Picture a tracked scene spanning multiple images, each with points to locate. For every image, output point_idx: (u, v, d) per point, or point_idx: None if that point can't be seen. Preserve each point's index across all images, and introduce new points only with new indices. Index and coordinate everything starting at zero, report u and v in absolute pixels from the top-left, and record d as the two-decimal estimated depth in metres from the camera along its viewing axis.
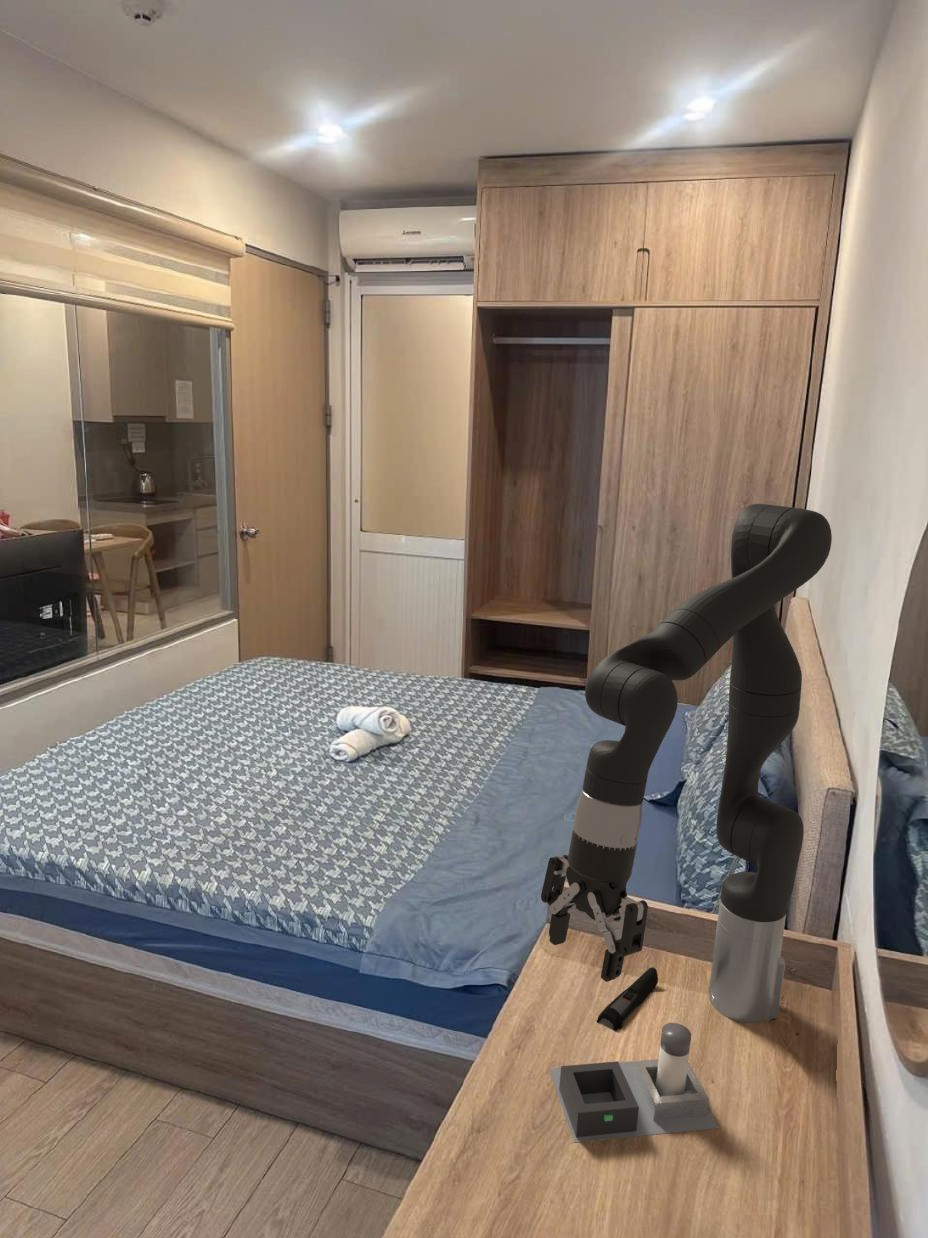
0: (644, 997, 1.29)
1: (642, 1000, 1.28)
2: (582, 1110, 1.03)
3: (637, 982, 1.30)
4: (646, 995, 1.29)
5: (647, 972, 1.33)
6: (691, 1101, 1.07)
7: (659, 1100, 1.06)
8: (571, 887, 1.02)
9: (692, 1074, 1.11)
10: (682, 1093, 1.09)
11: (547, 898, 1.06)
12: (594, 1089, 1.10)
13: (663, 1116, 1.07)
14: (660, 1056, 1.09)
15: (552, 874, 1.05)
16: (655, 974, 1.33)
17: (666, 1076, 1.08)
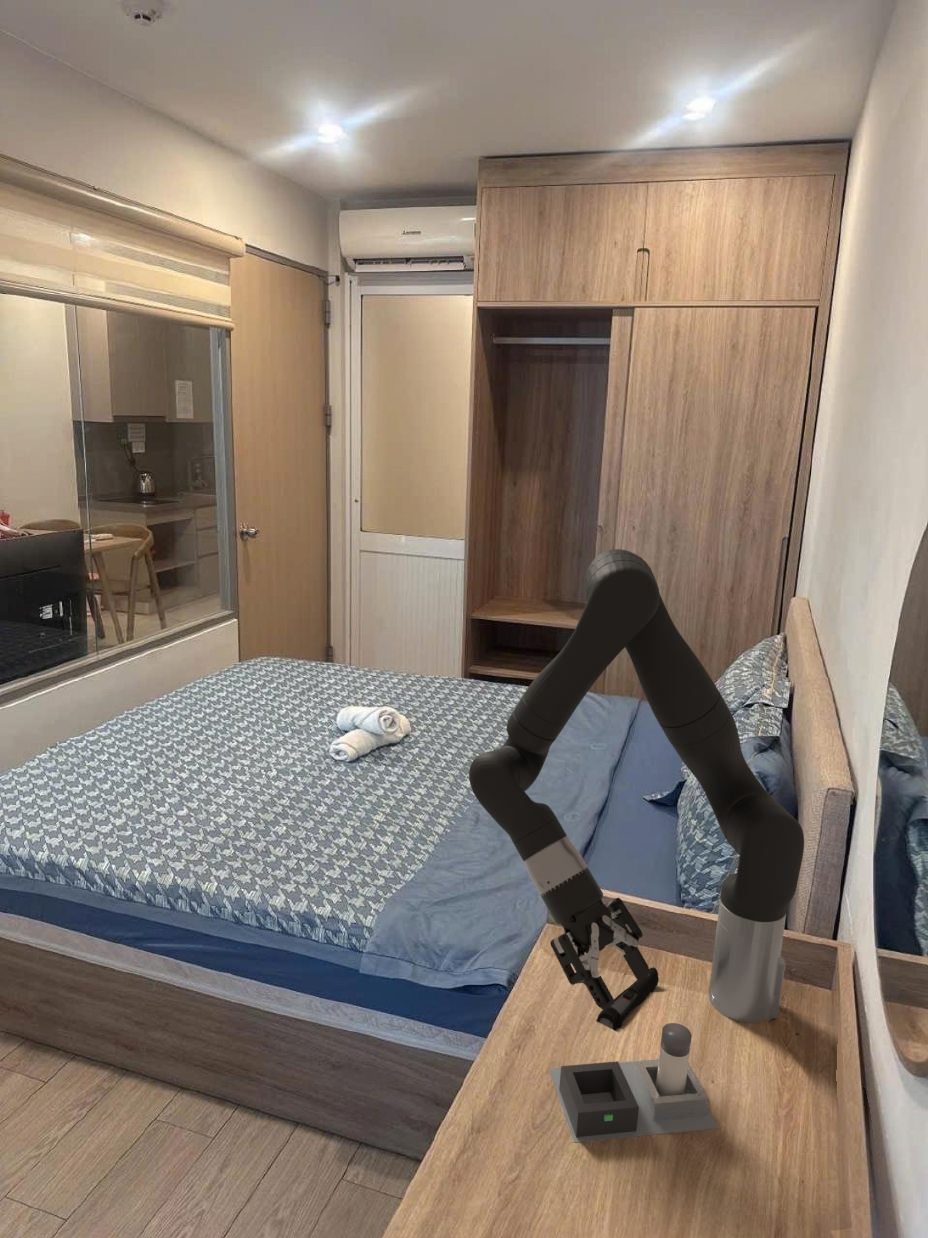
0: (644, 996, 1.29)
1: (642, 1000, 1.28)
2: (582, 1110, 1.03)
3: (637, 982, 1.30)
4: (646, 995, 1.30)
5: None
6: (691, 1101, 1.07)
7: (659, 1100, 1.06)
8: None
9: (692, 1074, 1.11)
10: (682, 1093, 1.09)
11: None
12: (594, 1089, 1.10)
13: (663, 1116, 1.07)
14: (660, 1056, 1.09)
15: (611, 918, 1.20)
16: (656, 974, 1.33)
17: (666, 1076, 1.08)
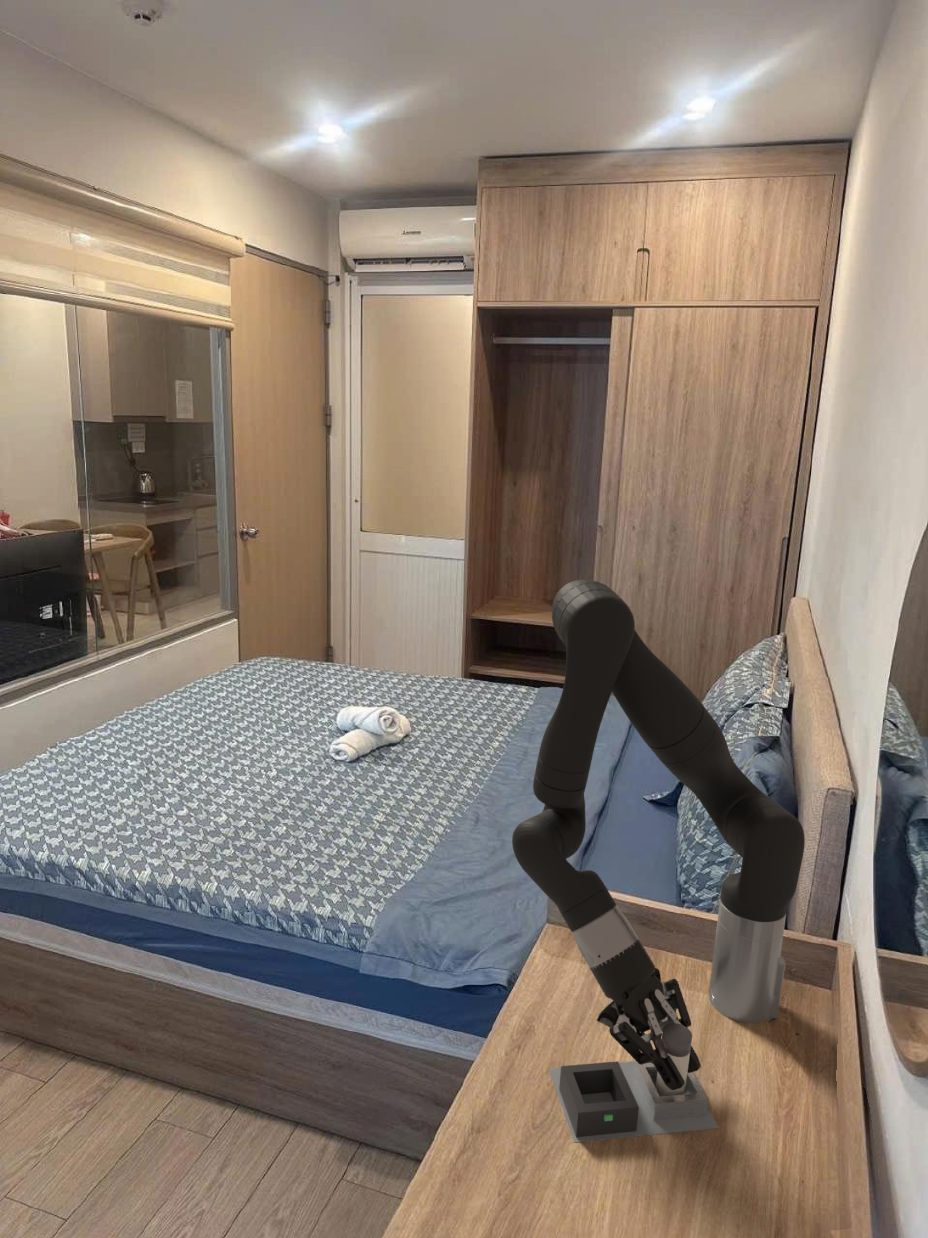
0: None
1: None
2: (582, 1110, 1.03)
3: None
4: None
5: None
6: (691, 1101, 1.07)
7: (659, 1100, 1.06)
8: None
9: (692, 1074, 1.11)
10: (682, 1093, 1.09)
11: None
12: (594, 1089, 1.10)
13: (663, 1116, 1.07)
14: None
15: None
16: (658, 975, 1.33)
17: None
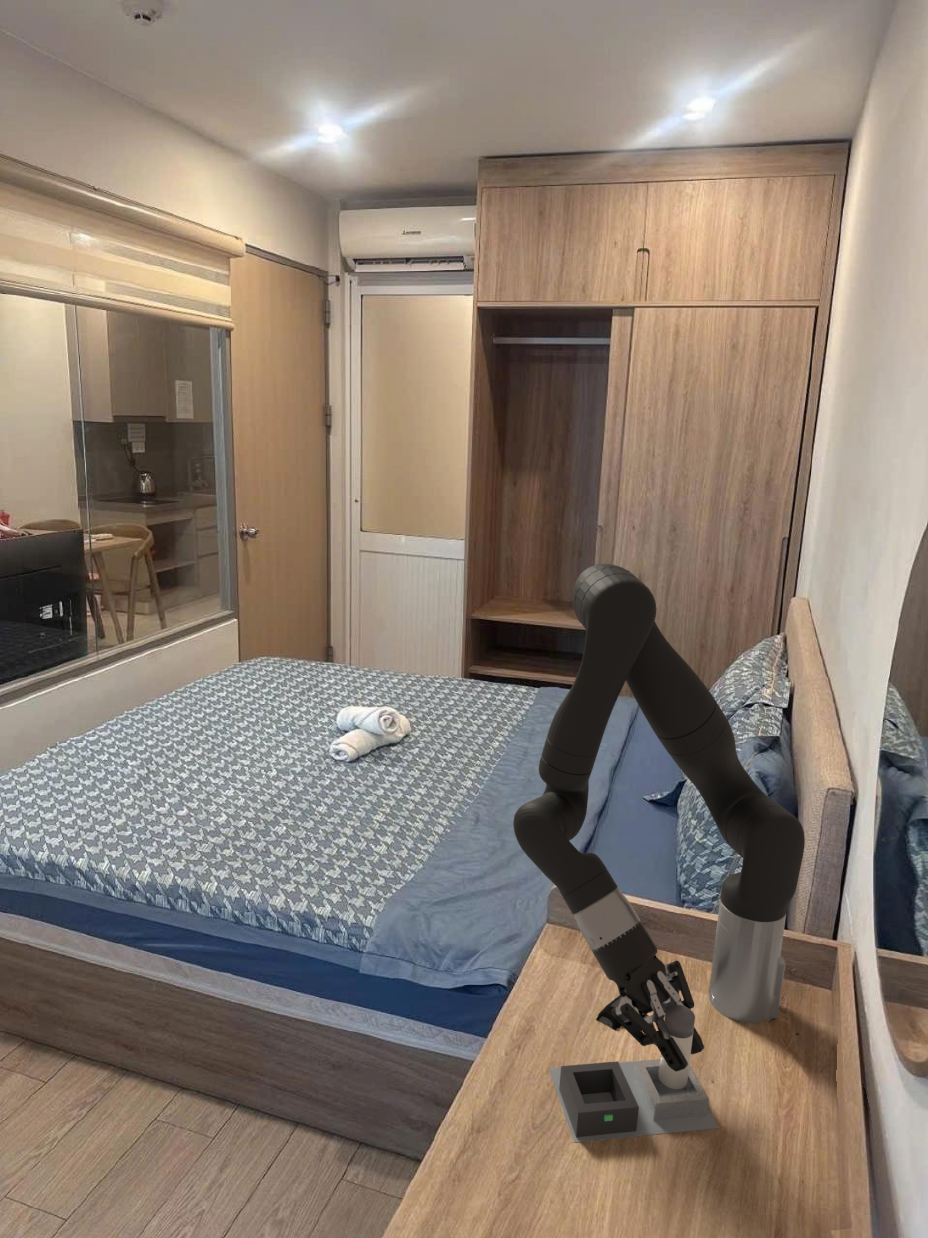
0: None
1: None
2: (582, 1110, 1.03)
3: None
4: None
5: None
6: (691, 1101, 1.07)
7: (659, 1100, 1.06)
8: None
9: (692, 1074, 1.11)
10: (686, 1075, 1.08)
11: None
12: (594, 1089, 1.10)
13: (663, 1116, 1.07)
14: None
15: None
16: None
17: None
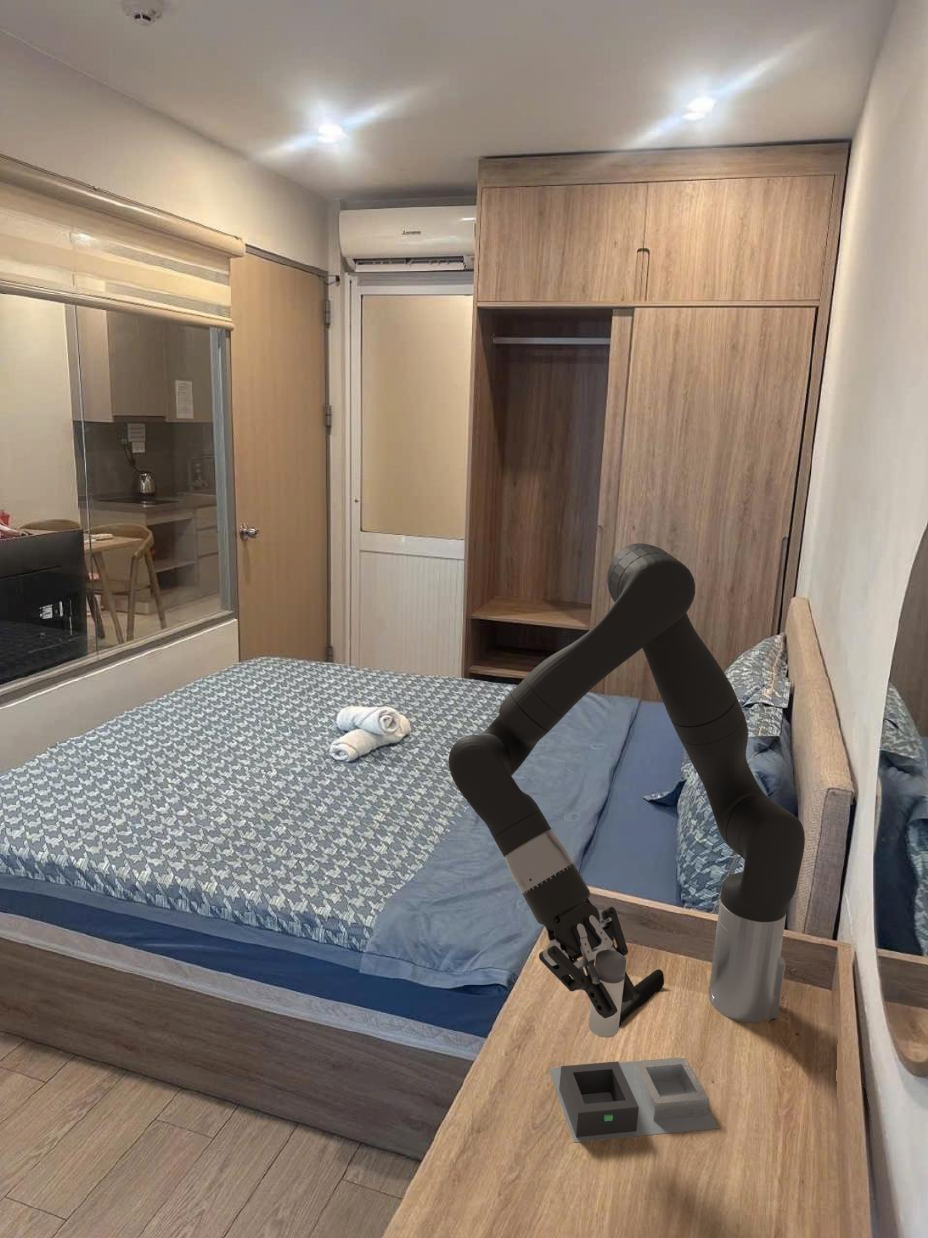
0: (647, 998, 1.29)
1: (645, 1001, 1.28)
2: (582, 1110, 1.03)
3: (641, 983, 1.30)
4: (650, 996, 1.29)
5: (653, 974, 1.33)
6: (691, 1101, 1.07)
7: (659, 1100, 1.06)
8: None
9: (692, 1074, 1.11)
10: (616, 1023, 1.03)
11: None
12: (594, 1089, 1.10)
13: (663, 1116, 1.07)
14: None
15: None
16: (661, 976, 1.33)
17: None
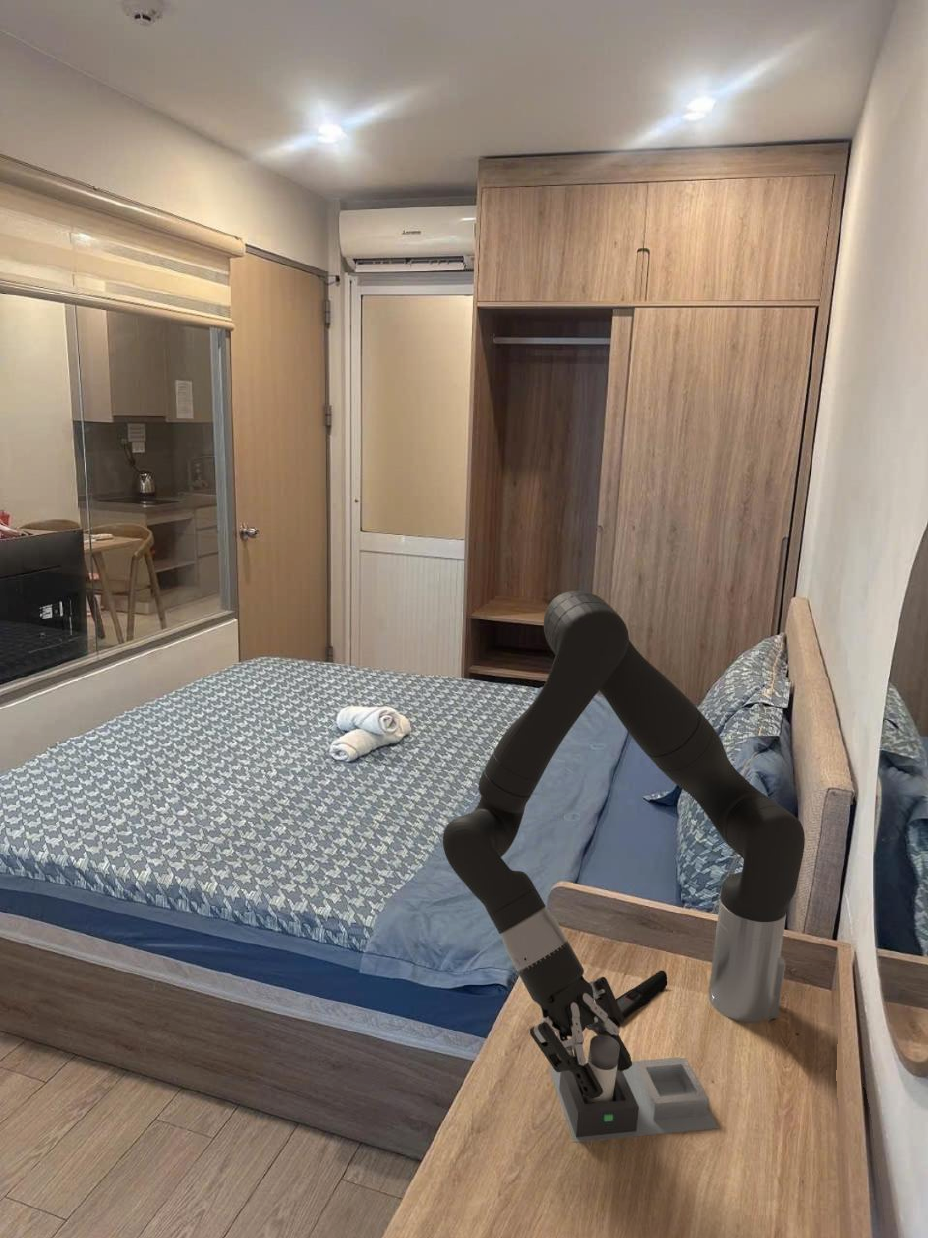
0: (649, 998, 1.29)
1: (646, 1001, 1.28)
2: (582, 1110, 1.03)
3: (643, 983, 1.30)
4: (651, 997, 1.29)
5: (656, 975, 1.32)
6: (691, 1101, 1.07)
7: (659, 1100, 1.06)
8: None
9: (692, 1074, 1.11)
10: None
11: None
12: None
13: (663, 1116, 1.07)
14: None
15: None
16: (664, 977, 1.32)
17: None
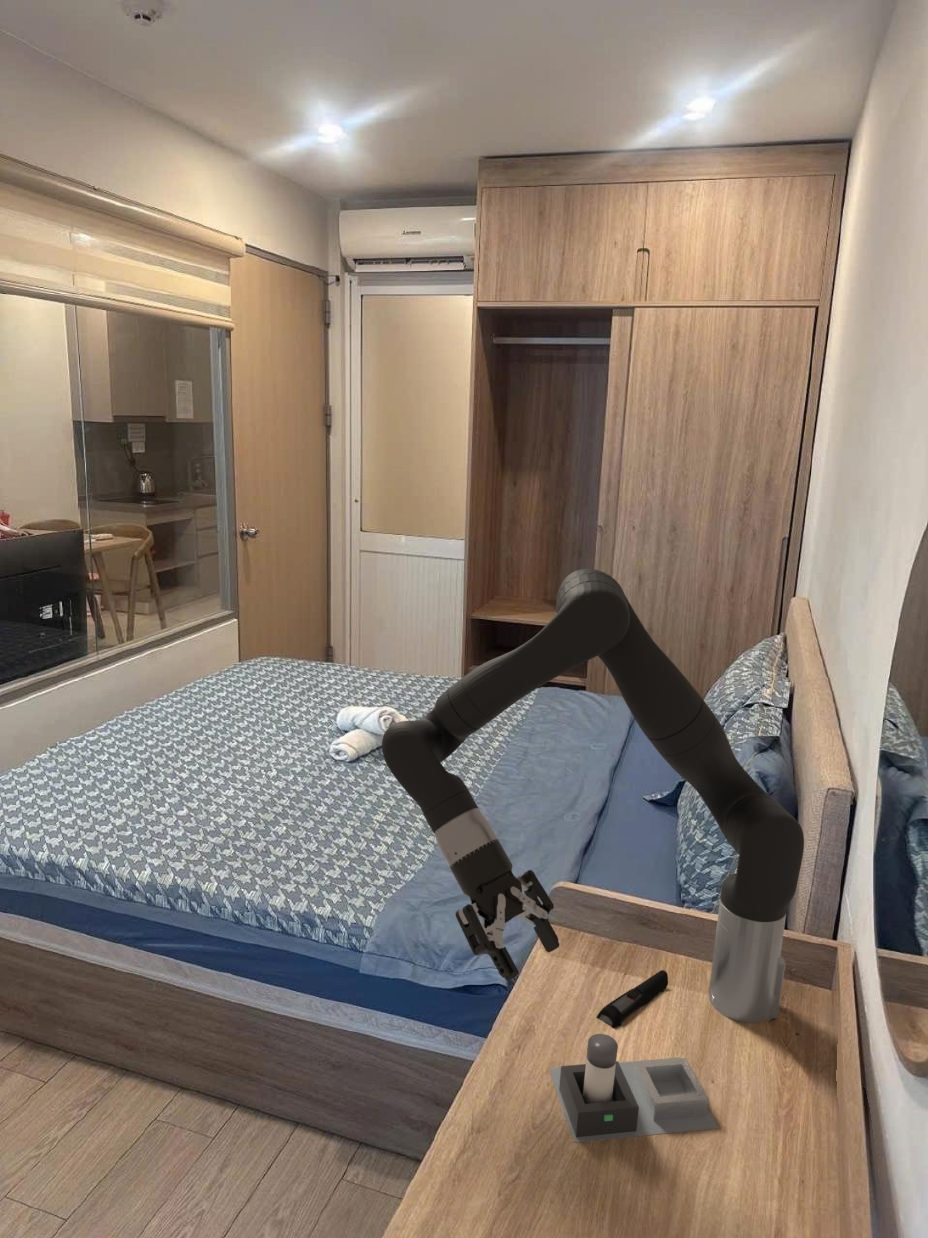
0: (650, 998, 1.29)
1: (647, 1001, 1.28)
2: (582, 1110, 1.03)
3: (644, 983, 1.30)
4: (652, 997, 1.29)
5: (657, 974, 1.32)
6: (691, 1101, 1.07)
7: (659, 1100, 1.06)
8: None
9: (692, 1074, 1.11)
10: None
11: None
12: None
13: (663, 1116, 1.07)
14: (586, 1068, 1.06)
15: (524, 890, 1.19)
16: (665, 977, 1.33)
17: (592, 1089, 1.06)
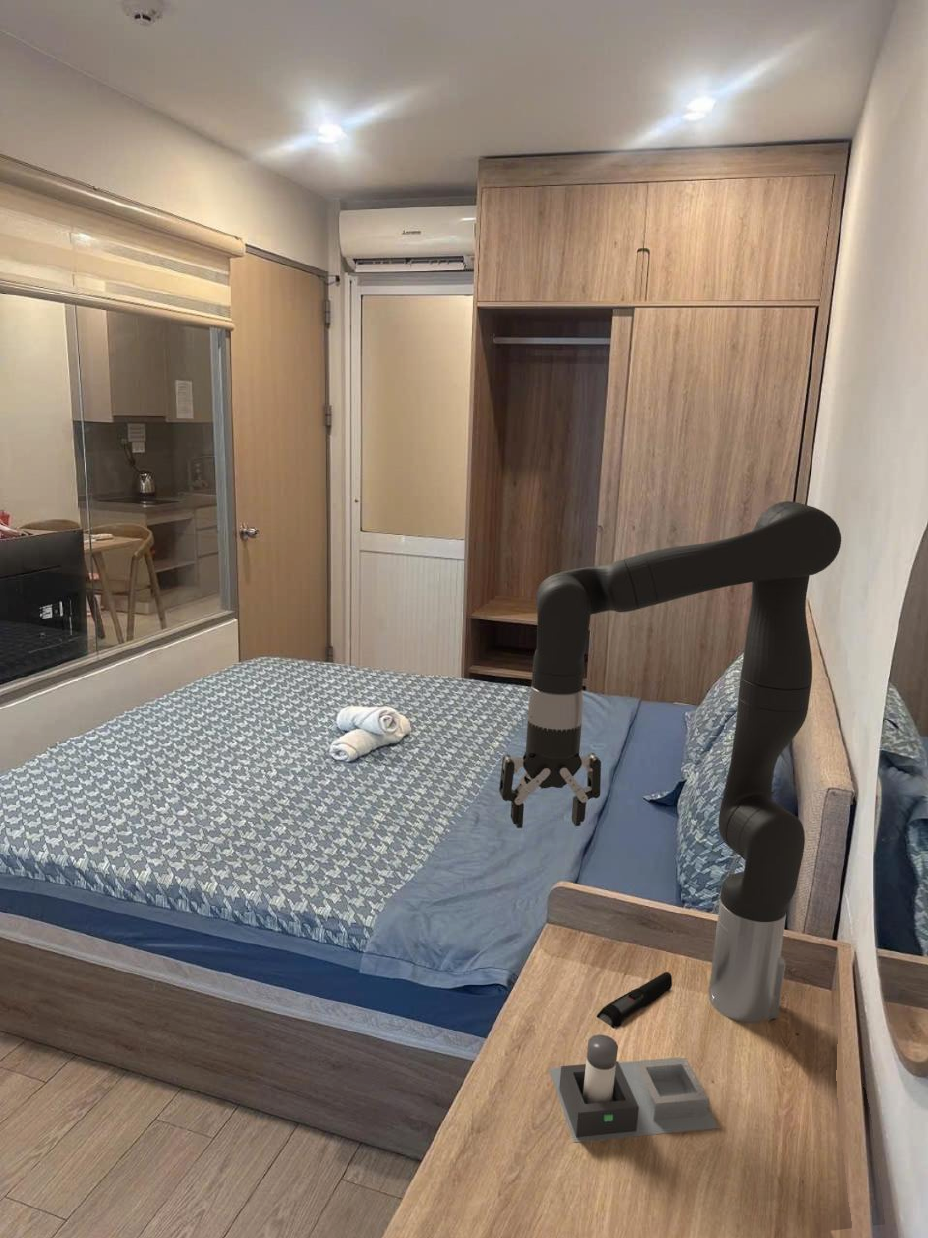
0: (652, 999, 1.29)
1: (649, 1002, 1.28)
2: (582, 1110, 1.03)
3: (647, 984, 1.30)
4: (655, 998, 1.29)
5: (660, 976, 1.32)
6: (691, 1101, 1.07)
7: (659, 1100, 1.06)
8: None
9: (692, 1074, 1.11)
10: None
11: None
12: None
13: (663, 1116, 1.07)
14: (586, 1068, 1.06)
15: None
16: (669, 979, 1.32)
17: (591, 1089, 1.05)
